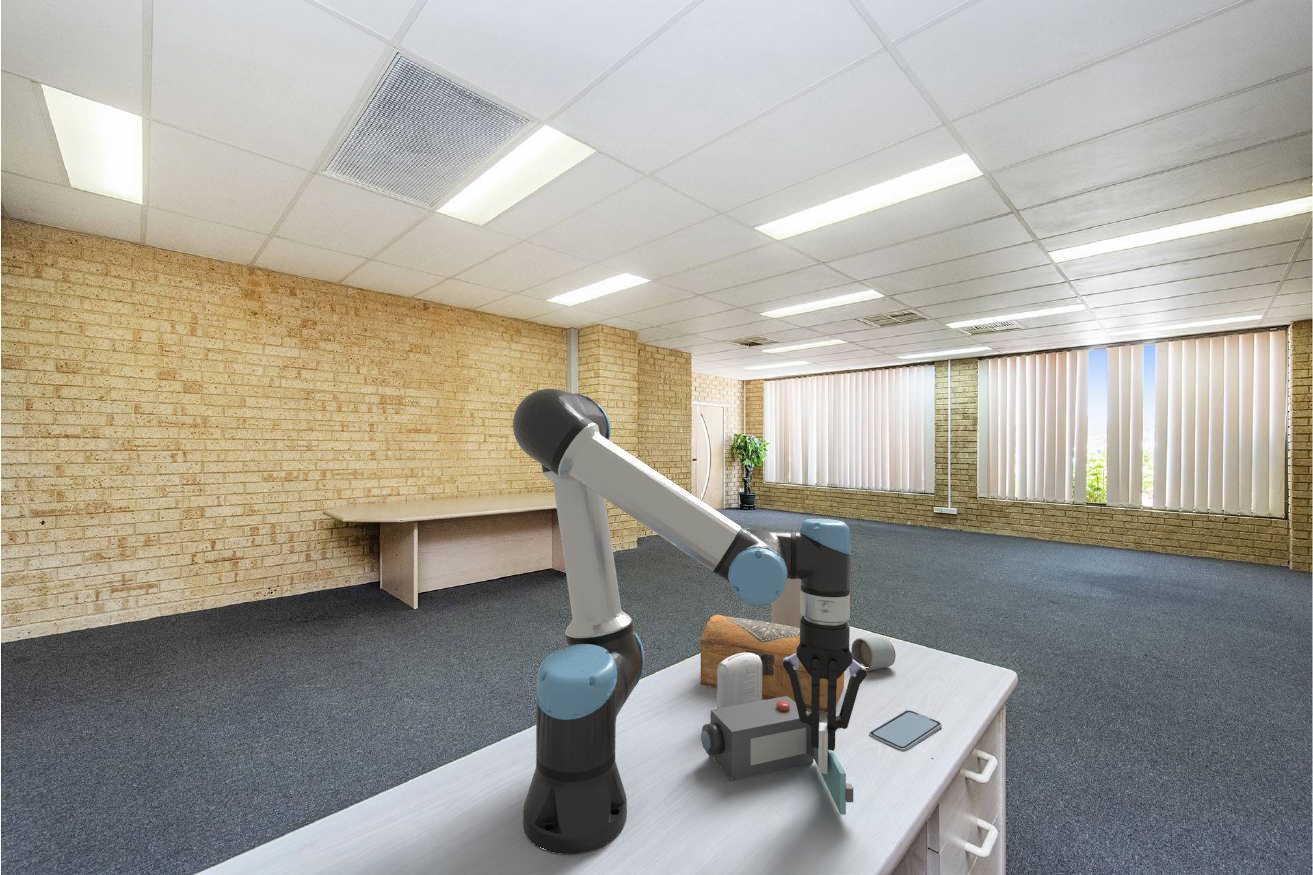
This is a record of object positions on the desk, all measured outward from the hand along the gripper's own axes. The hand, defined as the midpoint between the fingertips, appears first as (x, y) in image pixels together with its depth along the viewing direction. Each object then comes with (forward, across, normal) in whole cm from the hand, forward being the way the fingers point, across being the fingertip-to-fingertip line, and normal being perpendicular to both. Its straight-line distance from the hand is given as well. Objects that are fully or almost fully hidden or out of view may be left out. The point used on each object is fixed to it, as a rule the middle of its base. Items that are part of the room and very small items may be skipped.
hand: (822, 768), depth 86 cm
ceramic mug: (+4, +13, +57) cm, 58 cm away
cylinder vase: (+5, -5, +63) cm, 63 cm away
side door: (+3, +1, +2) cm, 4 cm away
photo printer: (+5, -16, +23) cm, 28 cm away
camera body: (+5, -11, +7) cm, 14 cm away
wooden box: (+5, -10, +38) cm, 40 cm away
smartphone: (+5, +16, +25) cm, 30 cm away
